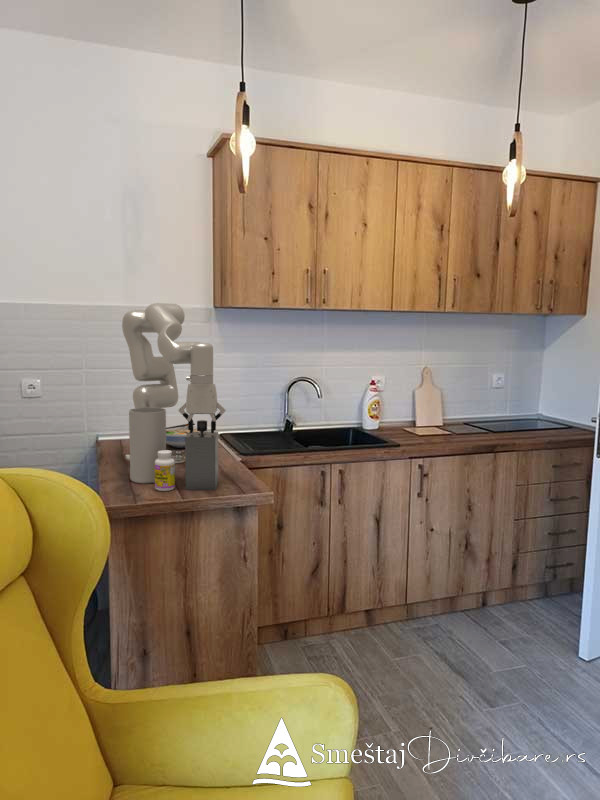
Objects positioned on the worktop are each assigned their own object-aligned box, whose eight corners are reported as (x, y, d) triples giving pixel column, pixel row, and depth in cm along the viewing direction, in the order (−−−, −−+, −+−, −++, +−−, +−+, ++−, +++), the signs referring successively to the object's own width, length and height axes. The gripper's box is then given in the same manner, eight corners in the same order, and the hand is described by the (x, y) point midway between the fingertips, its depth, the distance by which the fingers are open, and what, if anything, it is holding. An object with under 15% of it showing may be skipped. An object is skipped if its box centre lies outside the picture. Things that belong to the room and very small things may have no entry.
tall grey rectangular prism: (185, 489, 201) (185, 437, 199) (190, 479, 214) (190, 430, 212) (215, 490, 202) (215, 437, 199) (218, 479, 215) (219, 430, 212)
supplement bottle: (150, 490, 200) (150, 452, 198) (162, 485, 206) (161, 448, 205) (168, 492, 198) (167, 454, 196) (178, 487, 204) (178, 450, 202)
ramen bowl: (175, 454, 253) (174, 435, 252) (142, 446, 268) (142, 428, 267) (219, 445, 272) (219, 428, 271) (187, 438, 287) (186, 422, 286)
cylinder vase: (134, 474, 219) (133, 407, 216) (169, 475, 220) (168, 407, 217) (126, 484, 207) (125, 412, 204) (162, 484, 208) (162, 413, 204)
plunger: (190, 484, 203) (189, 422, 200) (193, 479, 210) (192, 419, 207) (211, 485, 203) (211, 423, 200) (213, 479, 210) (213, 419, 207)
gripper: (174, 380, 198) (174, 434, 200) (226, 381, 198) (226, 434, 201) (177, 378, 205) (178, 430, 207) (228, 379, 206) (228, 430, 208)
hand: (202, 432), depth 204 cm, fingers open, 6 cm apart
